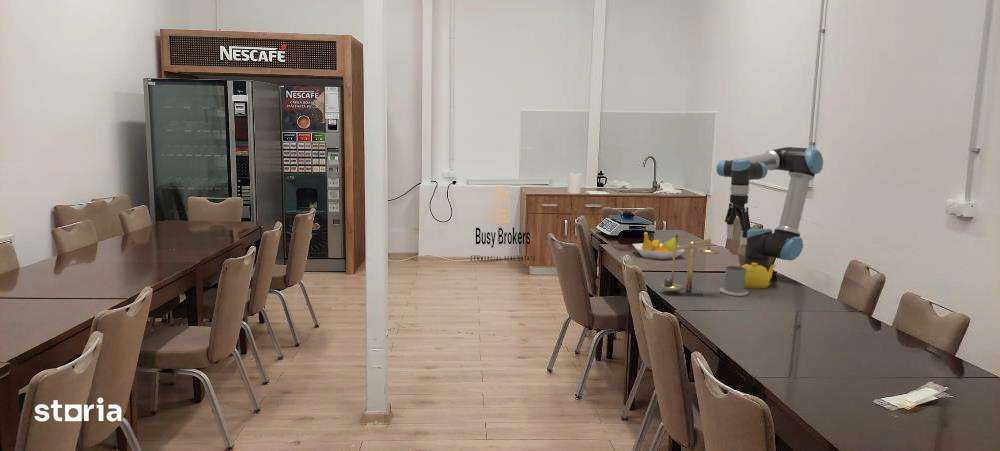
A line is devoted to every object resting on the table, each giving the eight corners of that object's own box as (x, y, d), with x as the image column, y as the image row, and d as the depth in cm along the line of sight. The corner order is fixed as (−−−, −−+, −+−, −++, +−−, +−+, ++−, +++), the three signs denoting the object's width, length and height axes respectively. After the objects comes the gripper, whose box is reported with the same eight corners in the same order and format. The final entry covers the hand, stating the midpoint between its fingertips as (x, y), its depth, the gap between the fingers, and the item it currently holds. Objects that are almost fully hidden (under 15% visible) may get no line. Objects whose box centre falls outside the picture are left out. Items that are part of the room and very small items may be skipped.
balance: (711, 290, 315) (715, 237, 311) (719, 296, 306) (723, 240, 302) (658, 290, 312) (661, 236, 308) (664, 295, 303) (668, 240, 300)
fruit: (687, 262, 377) (689, 235, 375) (638, 260, 377) (640, 234, 375) (674, 251, 407) (676, 226, 404) (629, 250, 407) (630, 225, 405)
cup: (744, 293, 307) (746, 270, 305) (725, 291, 309) (727, 269, 307) (742, 288, 315) (744, 266, 314) (723, 287, 317) (724, 265, 315)
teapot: (765, 281, 337) (767, 259, 335) (782, 289, 322) (784, 266, 320) (721, 281, 335) (723, 258, 333) (735, 289, 320) (737, 265, 318)
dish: (740, 289, 319) (741, 287, 318) (752, 296, 307) (753, 293, 307) (715, 289, 317) (715, 286, 317) (726, 296, 306) (726, 293, 305)
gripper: (719, 190, 323) (716, 236, 326) (744, 198, 298) (741, 247, 302) (734, 190, 324) (731, 236, 327) (761, 198, 299) (757, 247, 303)
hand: (736, 241), depth 315 cm, fingers open, 13 cm apart
